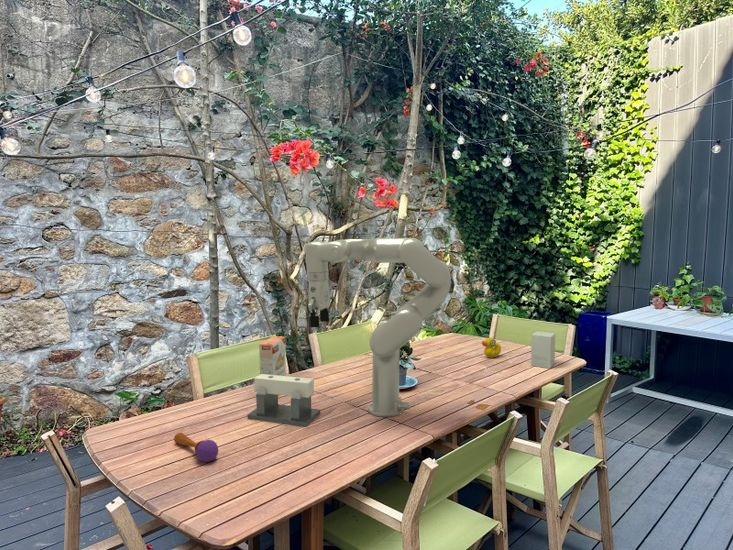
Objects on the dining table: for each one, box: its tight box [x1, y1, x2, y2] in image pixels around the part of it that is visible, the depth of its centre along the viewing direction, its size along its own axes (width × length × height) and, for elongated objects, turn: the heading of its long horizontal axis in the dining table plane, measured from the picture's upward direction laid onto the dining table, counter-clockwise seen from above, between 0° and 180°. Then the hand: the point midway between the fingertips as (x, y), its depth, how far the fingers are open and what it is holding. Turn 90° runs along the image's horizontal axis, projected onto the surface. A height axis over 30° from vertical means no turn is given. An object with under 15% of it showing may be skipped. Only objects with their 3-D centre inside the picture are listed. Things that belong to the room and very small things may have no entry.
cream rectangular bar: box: [253, 373, 315, 398], centre depth 180 cm, size 20×5×5 cm, turn 74°
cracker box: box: [259, 335, 286, 376], centre depth 206 cm, size 14×6×21 cm, turn 168°
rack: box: [246, 388, 321, 428], centre depth 181 cm, size 22×12×10 cm, turn 72°
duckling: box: [481, 337, 502, 359], centre depth 256 cm, size 11×5×10 cm, turn 118°
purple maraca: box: [173, 432, 219, 463], centre depth 153 cm, size 6×6×20 cm
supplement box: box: [530, 330, 556, 369], centre depth 243 cm, size 9×9×15 cm
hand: (319, 324), depth 186 cm, fingers open, 9 cm apart
